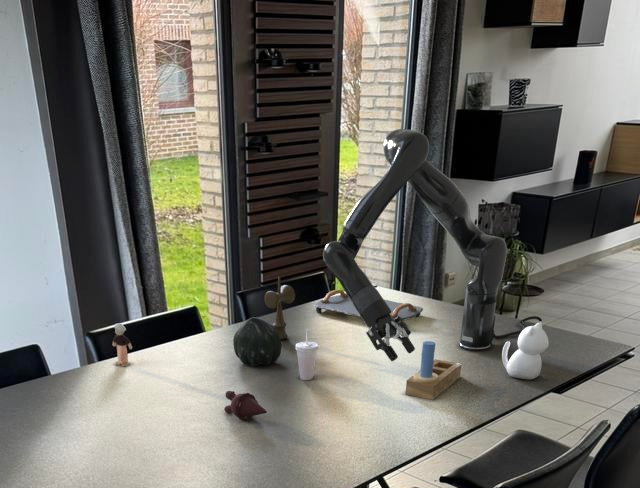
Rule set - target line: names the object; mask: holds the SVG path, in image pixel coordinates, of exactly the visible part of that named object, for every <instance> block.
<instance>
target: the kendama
mask: <svg viewBox="0 0 640 488" xmlns="http://www.w3.org/2000/svg"><path fill="white" fill-rule="evenodd" d="M295 298H296V294H295V290H294V288H293V287H292V286H291V285H289V284H284V285H281V277H280V276H278V278H277V292H275V291H273V290H268V291H267V292H266V293H265V294H264V304H265V305H266V307H267V308H268V309H276V314H275V318H274V319H275V320H274V322H273V324H272V326H274V327H275V328H276V329H277V330H278V332H279V335H280V338H281V341H282V340H286V339H287V338H289V337H288V336H289V335H288V334H287V332H286V326H287V322H286V321H285V319H284V313H283V305H282V303H284V304H287V305H289V304H292V303H293V302H294V301H295Z"/></svg>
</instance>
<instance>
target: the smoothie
mask: <svg viewBox="0 0 640 488" xmlns="http://www.w3.org/2000/svg"><path fill="white" fill-rule="evenodd" d="M318 349H319V344H318V343H317V342H315V341H309V328H305V341H300V342H297V343H295V350H296V355H297V363H298V372H299V379H301V380H303V381H310V380H313V379H314V374H315V365H316V359H317V351H318Z"/></svg>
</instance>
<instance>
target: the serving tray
mask: <svg viewBox="0 0 640 488" xmlns="http://www.w3.org/2000/svg"><path fill="white" fill-rule="evenodd" d="M336 294H337V295H336ZM384 301H385V302H386V304H387V305H388V307H389V308H390V310H391V314H390V317H391V318H392V319H393V320H394V319H395V318H397V317H398V316H399V317H400V318H401V319H402V320H403V321H404V320H407V319H411V318H414V317H415V318H419V317H420V316H421V313H422V312H423V311H424V308H423V307H421V306H418V305H413V304H412V303H409V302H405V303H404V302H397V301H393V300H390V299H389V300H388V299H384ZM313 308H315V312H316V313H318V314H320V313H321V312H322V311H323V310H326V311H331V312H335V313H340V314H344V315H349V316H353V317H359V318H361V316H360V315H359V313H358V312H357V310H356V309H355V307H354V305H353V303H352V301H351V300H350V298H349V297H348V295H347V294H346V292H345V291H344V290H343V289H333V290H331V291H329V292H328V293H326V295H325V296H324V298H323V299H321V300H319V301H317V302H316V303H314V304H313Z"/></svg>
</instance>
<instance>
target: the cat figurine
mask: <svg viewBox="0 0 640 488" xmlns="http://www.w3.org/2000/svg"><path fill="white" fill-rule="evenodd" d="M525 327H526V328H525V329H524V330H523V331H522V332H521V333H519V335H518V338H517V348H518V349H517V350H516V351H515V352H514V353H513V354H512V355H511V356H510V358H509V359H508V352H509V349H510V345H511V342H510V340H509V341H506V342H505V343H504V345H503V347H502V351H501V359H502V365H503V367H504V368H505V370H506V373H507V375H509V376H510V377H512V378H516V379H522V380H528V381H529V380H534V379H536V378H537V377H538V376H539V375H540V374H541V371H542V365H543V361H542V357H541V354H542V353H544V352H545V351H546V350H547V349H548V348H549V343H550V342H549V337H548V335H547V333H546V331H545V330H544V329H543V322H542V321H539V322H537V323H535V325H530V326H525Z"/></svg>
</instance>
